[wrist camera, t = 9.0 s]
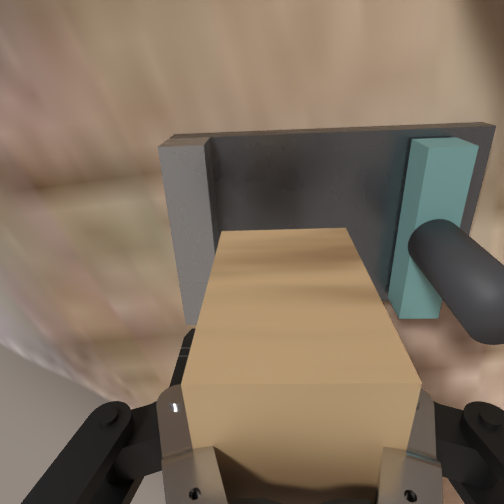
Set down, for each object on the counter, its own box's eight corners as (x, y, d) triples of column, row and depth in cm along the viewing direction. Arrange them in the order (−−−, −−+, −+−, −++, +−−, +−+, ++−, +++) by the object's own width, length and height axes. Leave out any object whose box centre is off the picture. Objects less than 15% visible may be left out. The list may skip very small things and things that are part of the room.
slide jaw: (407, 139, 21) (502, 189, 13) (460, 137, 21) (592, 186, 12) (384, 297, 26) (440, 408, 18) (427, 296, 26) (504, 408, 17)
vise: (174, 134, 23) (157, 147, 20) (482, 121, 22) (523, 133, 19) (195, 292, 29) (186, 324, 25) (443, 288, 28) (469, 321, 24)
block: (221, 231, 15) (181, 384, 8) (345, 227, 15) (422, 383, 7) (234, 368, 18) (213, 561, 11) (334, 367, 18) (379, 564, 11)
